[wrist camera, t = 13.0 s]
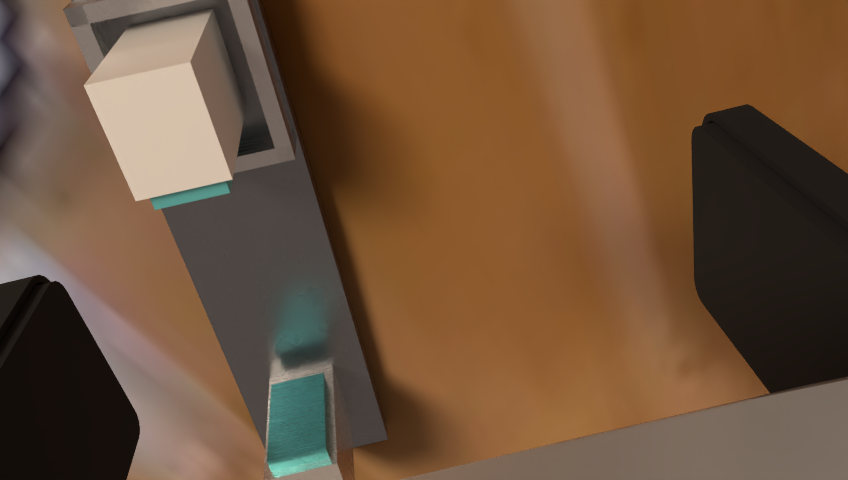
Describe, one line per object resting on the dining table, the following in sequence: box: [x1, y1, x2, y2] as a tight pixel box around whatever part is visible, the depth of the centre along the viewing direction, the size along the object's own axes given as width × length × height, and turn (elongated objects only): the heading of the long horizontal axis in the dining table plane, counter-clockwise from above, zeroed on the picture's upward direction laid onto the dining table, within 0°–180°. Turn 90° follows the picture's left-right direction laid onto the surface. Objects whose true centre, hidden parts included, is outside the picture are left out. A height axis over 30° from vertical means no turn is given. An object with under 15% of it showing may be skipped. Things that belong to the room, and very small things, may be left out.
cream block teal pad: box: [84, 8, 246, 210], centre depth 32 cm, size 4×6×8 cm
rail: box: [63, 0, 388, 480], centre depth 39 cm, size 32×8×10 cm, turn 10°
